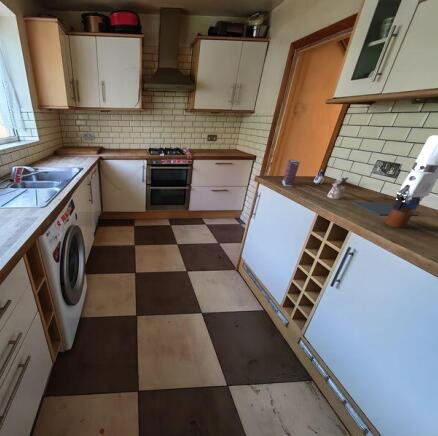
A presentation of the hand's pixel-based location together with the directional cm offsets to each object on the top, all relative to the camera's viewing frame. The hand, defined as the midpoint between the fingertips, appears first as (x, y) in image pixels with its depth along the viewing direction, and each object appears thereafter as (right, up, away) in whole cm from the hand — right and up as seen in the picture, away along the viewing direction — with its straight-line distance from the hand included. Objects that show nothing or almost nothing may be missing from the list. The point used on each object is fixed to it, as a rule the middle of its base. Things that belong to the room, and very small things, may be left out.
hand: (403, 209), depth 97 cm
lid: (0, +3, -1) cm, 3 cm away
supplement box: (-16, +19, +56) cm, 61 cm away
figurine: (-1, +8, +35) cm, 36 cm away
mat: (+12, +1, +20) cm, 23 cm away
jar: (0, -7, +3) cm, 8 cm away
